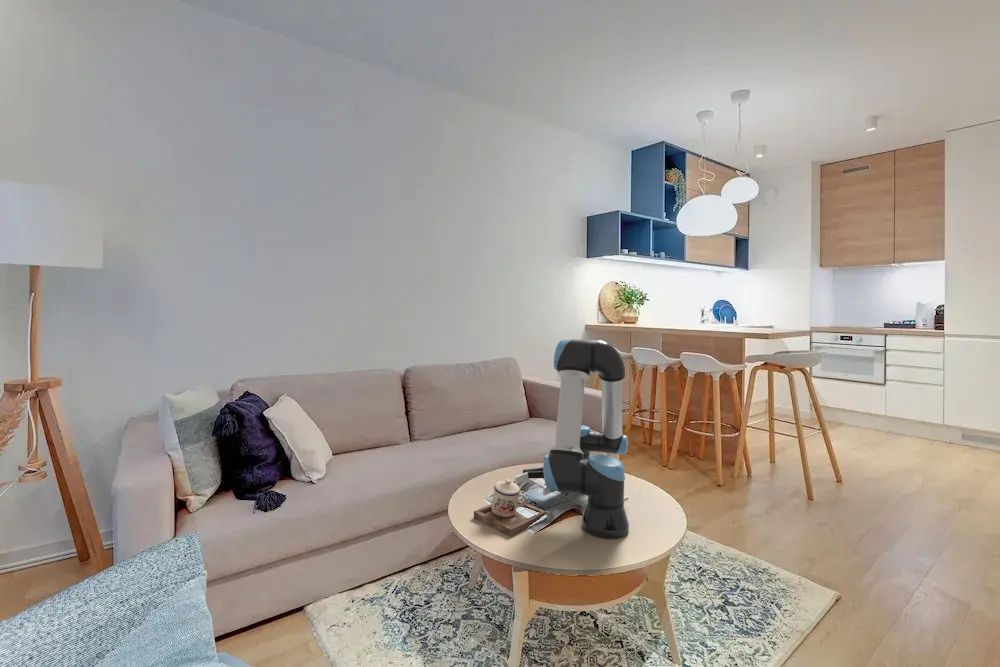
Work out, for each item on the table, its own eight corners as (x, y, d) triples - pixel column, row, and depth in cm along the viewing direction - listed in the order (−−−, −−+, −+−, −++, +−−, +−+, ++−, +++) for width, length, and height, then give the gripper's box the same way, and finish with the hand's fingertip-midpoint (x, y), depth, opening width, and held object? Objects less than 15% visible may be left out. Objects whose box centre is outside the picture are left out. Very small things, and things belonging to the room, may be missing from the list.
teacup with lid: (490, 515, 160) (495, 484, 158) (490, 502, 169) (495, 472, 167) (524, 521, 160) (530, 489, 158) (523, 507, 169) (529, 477, 167)
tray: (547, 518, 162) (547, 512, 162) (510, 536, 149) (511, 529, 149) (510, 502, 175) (510, 496, 175) (473, 517, 162) (473, 511, 162)
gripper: (592, 489, 174) (556, 507, 160) (540, 471, 192) (504, 486, 177) (592, 469, 174) (556, 485, 159) (541, 453, 192) (504, 466, 177)
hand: (529, 485), depth 168 cm, fingers open, 13 cm apart
